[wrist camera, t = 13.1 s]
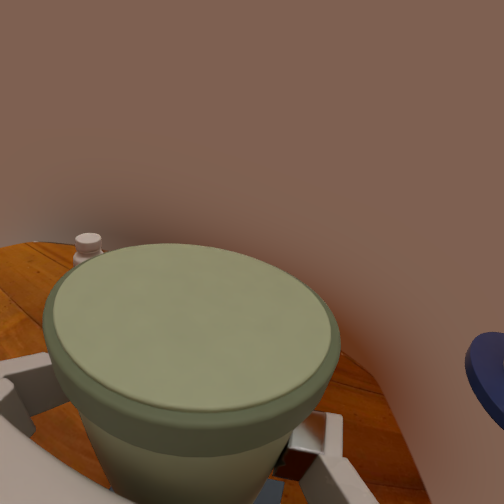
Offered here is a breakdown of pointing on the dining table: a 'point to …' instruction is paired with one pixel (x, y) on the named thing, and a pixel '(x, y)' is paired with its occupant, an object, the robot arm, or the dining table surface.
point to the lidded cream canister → (188, 367)
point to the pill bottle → (86, 247)
